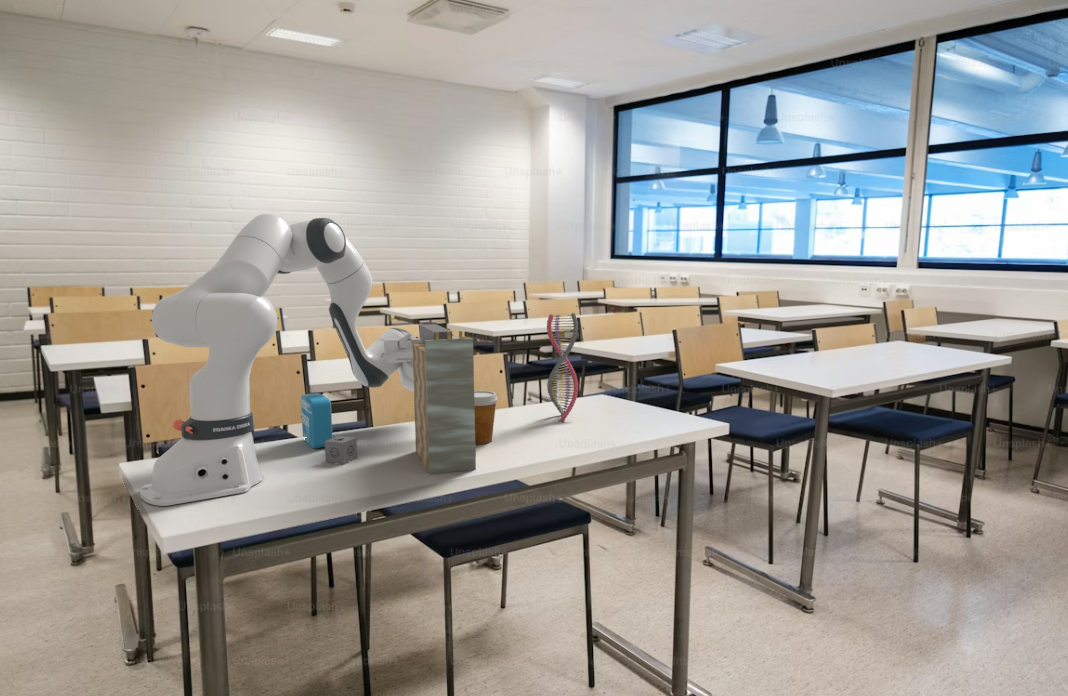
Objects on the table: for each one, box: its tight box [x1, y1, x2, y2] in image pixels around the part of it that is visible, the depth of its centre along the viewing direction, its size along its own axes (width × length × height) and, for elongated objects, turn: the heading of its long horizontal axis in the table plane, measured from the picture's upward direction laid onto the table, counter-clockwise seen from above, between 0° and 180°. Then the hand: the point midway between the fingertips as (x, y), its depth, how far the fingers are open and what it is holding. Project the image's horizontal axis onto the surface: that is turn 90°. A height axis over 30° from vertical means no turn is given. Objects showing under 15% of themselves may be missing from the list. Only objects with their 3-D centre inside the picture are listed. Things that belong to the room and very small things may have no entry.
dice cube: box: [324, 435, 358, 465], centre depth 159 cm, size 5×5×5 cm
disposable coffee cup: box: [474, 390, 499, 445], centre depth 174 cm, size 10×10×12 cm
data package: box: [300, 392, 334, 450], centre depth 173 cm, size 12×4×12 cm, turn 31°
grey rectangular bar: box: [419, 323, 453, 342], centre depth 162 cm, size 20×4×4 cm, turn 18°
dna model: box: [546, 312, 579, 422], centre depth 198 cm, size 9×9×30 cm
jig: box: [412, 330, 477, 475], centre depth 157 cm, size 19×10×30 cm, turn 18°
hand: (427, 336), depth 171 cm, fingers open, 8 cm apart
